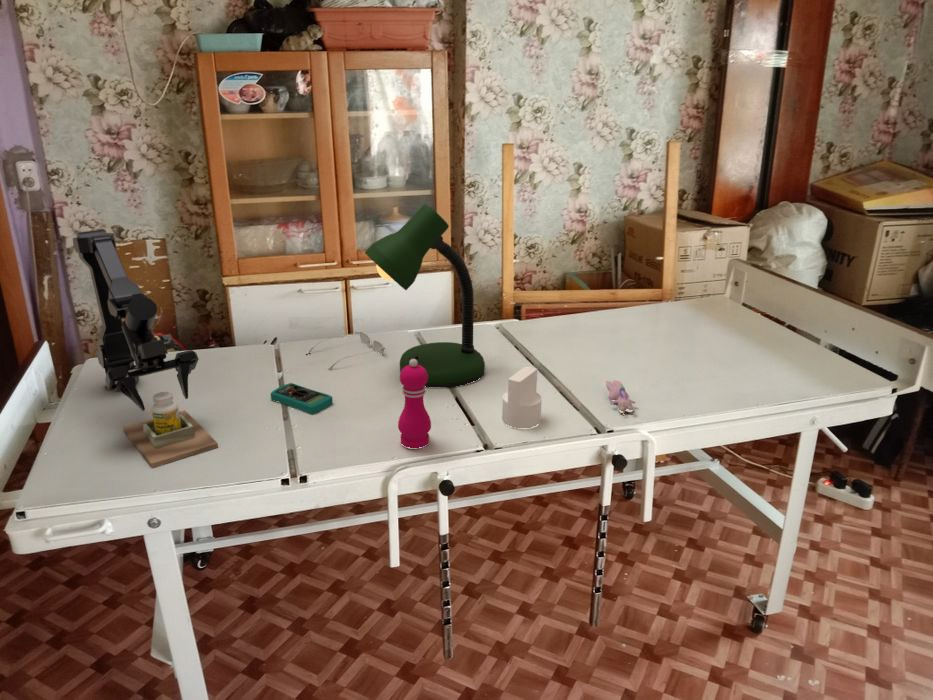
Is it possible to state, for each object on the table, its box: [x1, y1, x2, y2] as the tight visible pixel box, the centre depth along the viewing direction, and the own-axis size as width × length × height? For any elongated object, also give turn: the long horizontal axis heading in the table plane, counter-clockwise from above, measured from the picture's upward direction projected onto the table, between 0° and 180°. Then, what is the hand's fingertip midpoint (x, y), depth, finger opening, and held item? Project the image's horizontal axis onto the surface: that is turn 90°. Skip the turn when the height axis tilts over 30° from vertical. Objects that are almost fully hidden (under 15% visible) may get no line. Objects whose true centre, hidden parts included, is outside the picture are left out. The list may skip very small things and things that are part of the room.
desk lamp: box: [364, 203, 486, 389], centre depth 193 cm, size 31×23×45 cm
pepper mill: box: [397, 359, 432, 448], centre depth 163 cm, size 7×7×20 cm
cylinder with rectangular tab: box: [501, 365, 543, 428], centre depth 174 cm, size 9×9×12 cm
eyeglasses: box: [305, 331, 386, 371], centre depth 212 cm, size 15×18×4 cm
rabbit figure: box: [605, 380, 637, 413], centre depth 184 cm, size 6×6×15 cm
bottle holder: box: [122, 410, 219, 468], centre depth 166 cm, size 20×14×4 cm
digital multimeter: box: [270, 382, 334, 415], centre depth 184 cm, size 7×15×3 cm, turn 57°
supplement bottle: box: [151, 391, 182, 436], centre depth 165 cm, size 5×5×10 cm
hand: (165, 404), depth 163 cm, fingers open, 9 cm apart
